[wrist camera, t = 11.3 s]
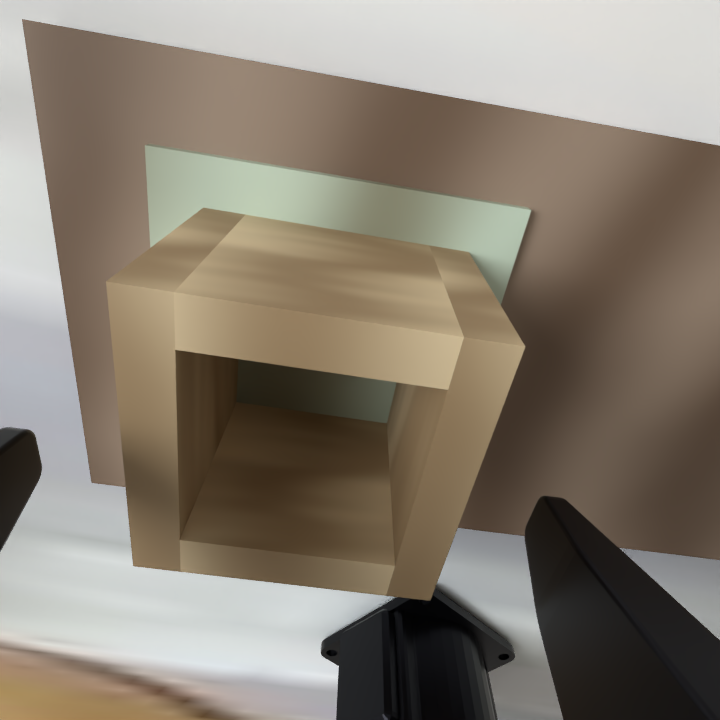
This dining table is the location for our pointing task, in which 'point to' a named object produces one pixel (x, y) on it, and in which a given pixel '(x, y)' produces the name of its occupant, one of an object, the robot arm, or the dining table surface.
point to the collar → (297, 428)
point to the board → (429, 227)
